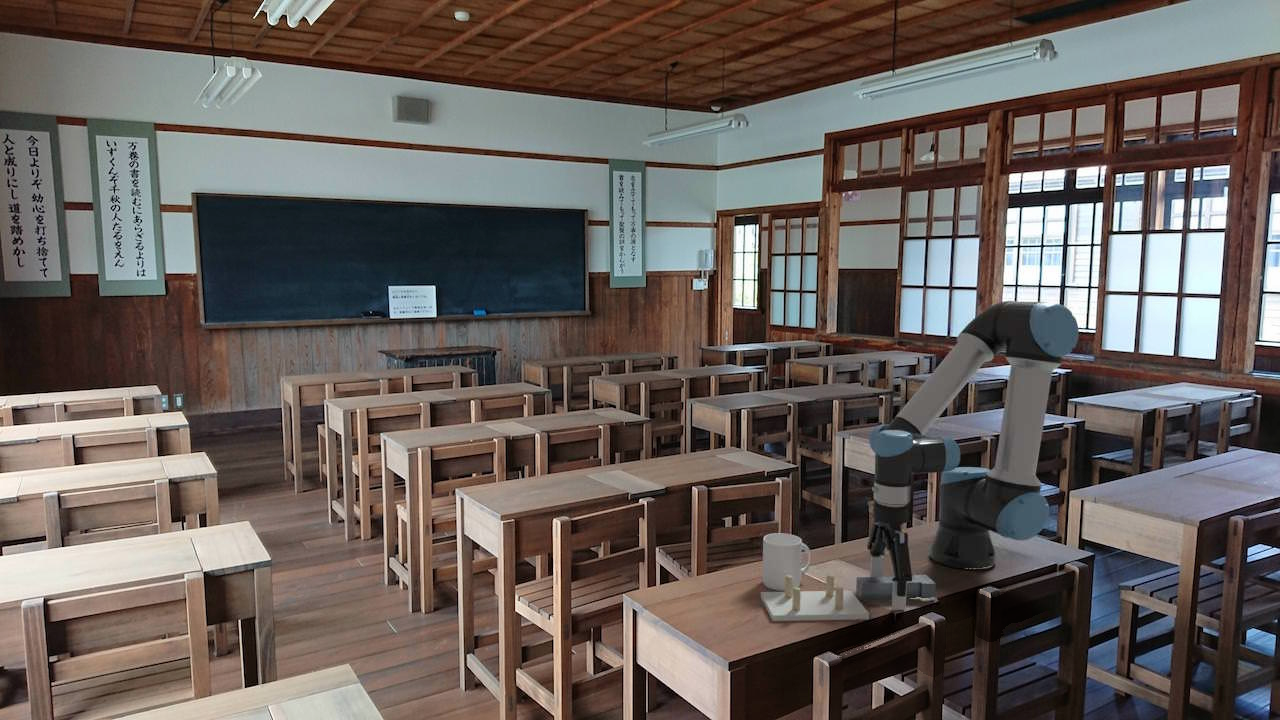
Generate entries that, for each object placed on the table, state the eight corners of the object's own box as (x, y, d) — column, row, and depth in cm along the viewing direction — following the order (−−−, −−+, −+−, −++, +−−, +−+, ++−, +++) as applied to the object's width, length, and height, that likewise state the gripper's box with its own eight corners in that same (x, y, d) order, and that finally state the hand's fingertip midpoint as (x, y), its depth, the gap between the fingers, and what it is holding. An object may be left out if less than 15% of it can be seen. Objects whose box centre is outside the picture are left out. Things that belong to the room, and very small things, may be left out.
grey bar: (925, 592, 178) (926, 574, 178) (934, 601, 173) (935, 583, 173) (854, 593, 177) (855, 576, 177) (862, 602, 172) (863, 584, 172)
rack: (850, 595, 176) (851, 570, 175) (869, 619, 164) (869, 592, 163) (760, 597, 174) (761, 572, 174) (772, 621, 163) (773, 594, 162)
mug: (820, 586, 181) (822, 541, 179) (774, 594, 176) (775, 547, 175) (800, 573, 189) (801, 529, 187) (755, 580, 184) (756, 535, 183)
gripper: (855, 487, 185) (852, 575, 187) (895, 519, 160) (891, 621, 162) (887, 486, 185) (883, 574, 188) (932, 519, 160) (927, 620, 163)
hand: (886, 596), depth 175 cm, fingers open, 13 cm apart
